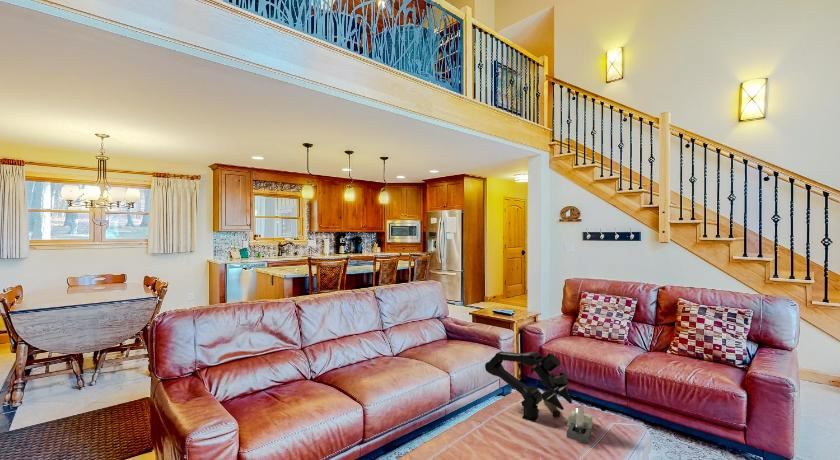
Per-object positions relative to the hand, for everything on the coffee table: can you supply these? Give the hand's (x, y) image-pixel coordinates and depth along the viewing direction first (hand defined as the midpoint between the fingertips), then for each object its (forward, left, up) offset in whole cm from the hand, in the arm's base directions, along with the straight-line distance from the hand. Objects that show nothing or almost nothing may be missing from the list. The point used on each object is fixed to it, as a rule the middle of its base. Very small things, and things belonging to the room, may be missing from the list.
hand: (567, 406), depth 180 cm
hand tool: (-13, +18, -12) cm, 26 cm away
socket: (+6, -1, -12) cm, 13 cm away
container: (+4, +10, -12) cm, 16 cm away
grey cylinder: (+6, -1, -12) cm, 13 cm away
